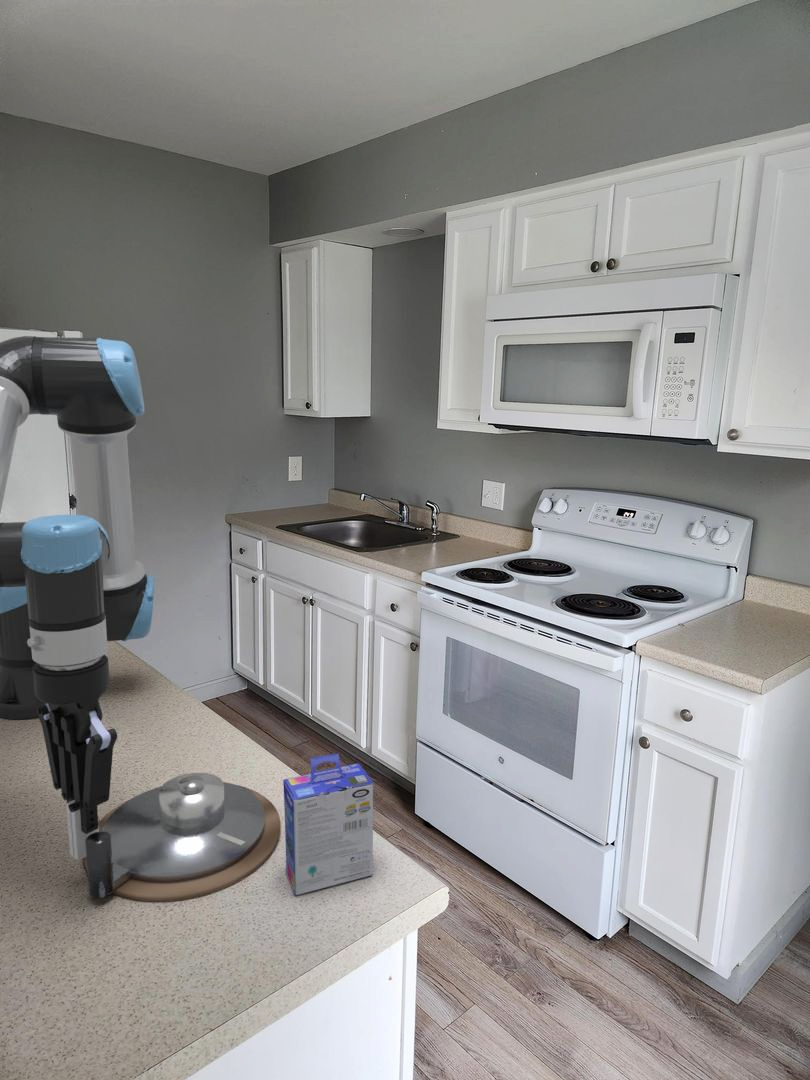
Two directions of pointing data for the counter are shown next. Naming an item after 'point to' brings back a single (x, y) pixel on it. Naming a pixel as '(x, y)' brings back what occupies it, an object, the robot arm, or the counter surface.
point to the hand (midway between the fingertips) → (85, 851)
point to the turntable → (169, 843)
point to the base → (209, 882)
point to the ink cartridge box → (328, 826)
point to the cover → (191, 803)
